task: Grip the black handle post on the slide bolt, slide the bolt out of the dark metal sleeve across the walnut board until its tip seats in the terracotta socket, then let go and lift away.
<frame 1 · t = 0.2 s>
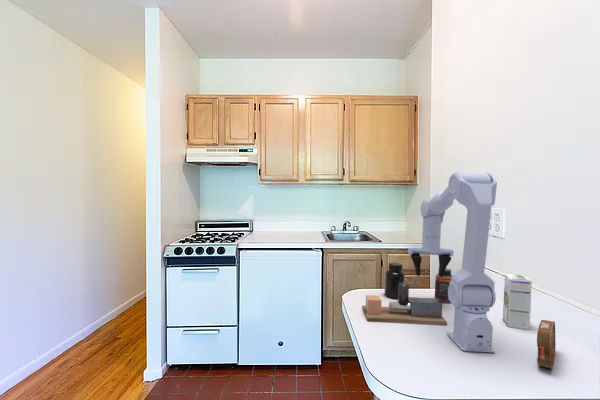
hand: (429, 275, 111), 10 cm above the counter, tool pointing down, fingers open, 7 cm apart
supplement bottle 2: (443, 301, 116), on the counter
sleeve: (423, 317, 100), resting on base board
socket: (372, 314, 101), resting on base board
tin: (545, 360, 77), on the counter
syrup box: (515, 325, 97), on the counter
supplement bottle: (393, 296, 119), on the counter
base board: (402, 316, 100), on the counter
slide bolt: (411, 297, 100), point 6 cm above the counter, slide at 0.0 cm
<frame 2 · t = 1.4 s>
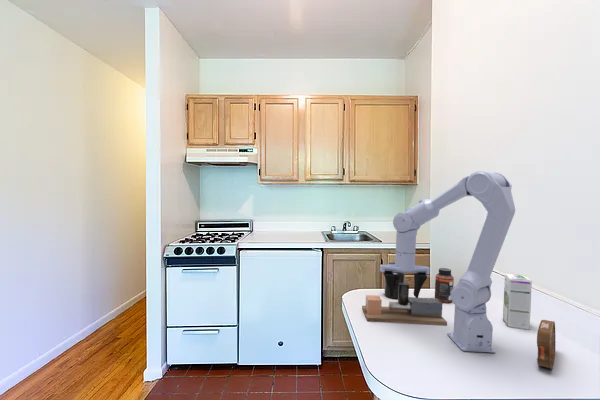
hand: (403, 295, 100), 6 cm above the counter, tool pointing down, fingers open, 7 cm apart
nothing on the counter moved.
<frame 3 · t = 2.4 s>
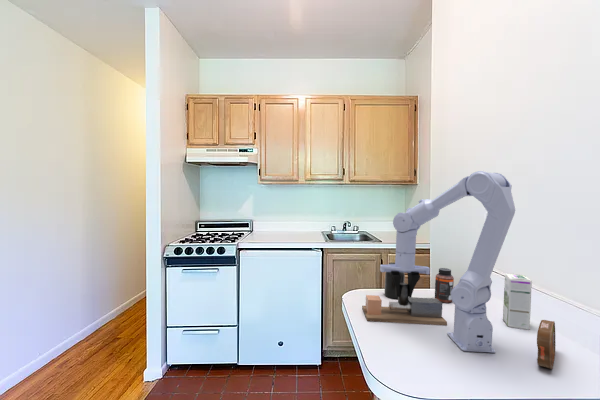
hand: (403, 295, 100), 6 cm above the counter, tool pointing down, fingers closed on slide bolt, 3 cm apart
slide bolt: (411, 297, 100), point 6 cm above the counter, slide at 0.0 cm, touching gripper
everything else where it was.
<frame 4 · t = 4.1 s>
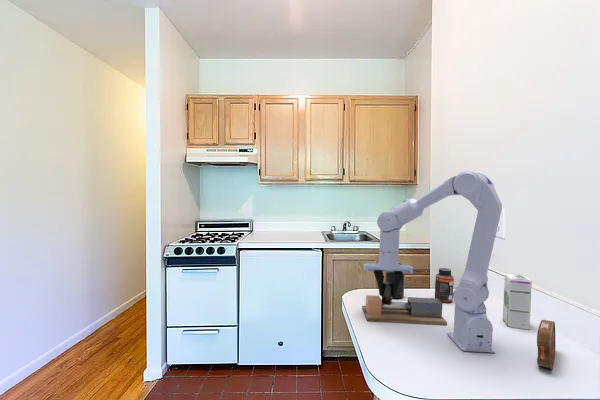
hand: (386, 295, 100), 6 cm above the counter, tool pointing down, fingers closed on slide bolt, 3 cm apart
slide bolt: (395, 296, 100), point 6 cm above the counter, slide at 5.0 cm, touching gripper
everything else where it was.
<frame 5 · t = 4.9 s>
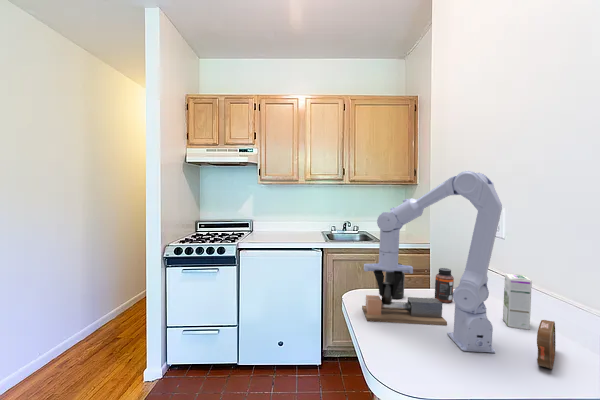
hand: (386, 295, 100), 6 cm above the counter, tool pointing down, fingers closed on slide bolt, 3 cm apart
slide bolt: (394, 296, 100), point 6 cm above the counter, slide at 5.0 cm, touching gripper
everything else where it was.
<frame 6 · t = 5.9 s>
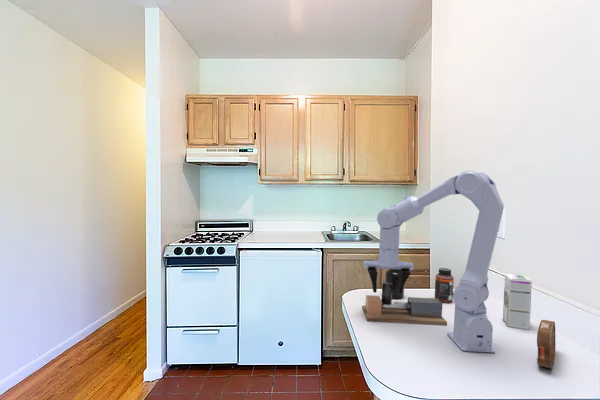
hand: (387, 292, 100), 7 cm above the counter, tool pointing down, fingers open, 7 cm apart
slide bolt: (394, 296, 100), point 6 cm above the counter, slide at 5.0 cm
everything else where it was.
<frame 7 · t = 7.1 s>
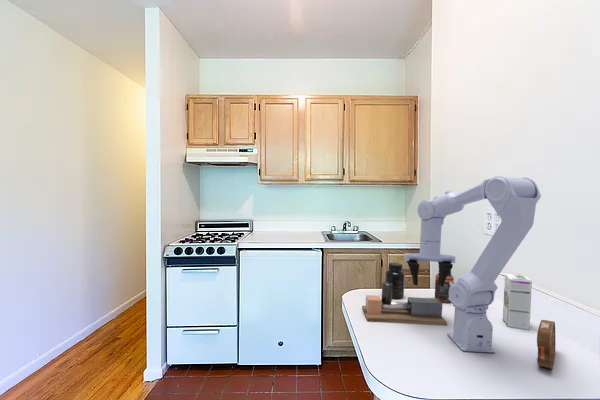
hand: (427, 285, 99), 10 cm above the counter, tool pointing down, fingers open, 7 cm apart
nothing on the counter moved.
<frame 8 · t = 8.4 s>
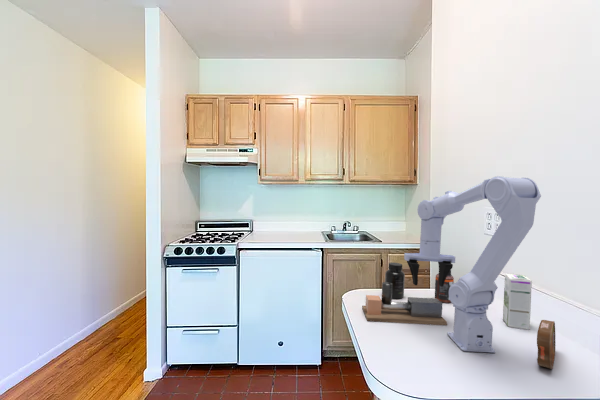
hand: (427, 285, 99), 10 cm above the counter, tool pointing down, fingers open, 7 cm apart
nothing on the counter moved.
at the end: slide bolt slide at 5.0 cm; the gripper is holding nothing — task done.
